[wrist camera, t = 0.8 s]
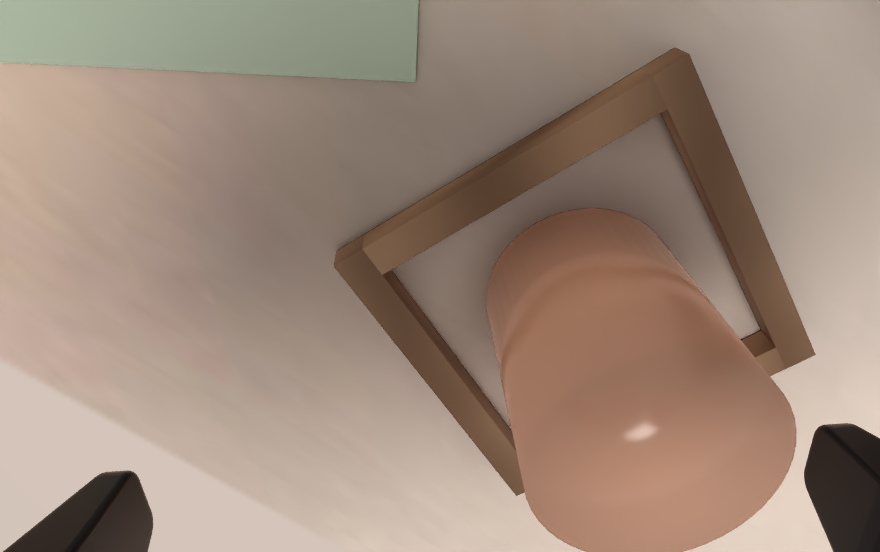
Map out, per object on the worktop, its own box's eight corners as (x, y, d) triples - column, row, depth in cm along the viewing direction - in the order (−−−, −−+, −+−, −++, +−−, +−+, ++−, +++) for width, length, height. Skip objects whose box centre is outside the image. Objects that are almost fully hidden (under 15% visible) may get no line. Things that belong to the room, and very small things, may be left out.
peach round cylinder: (516, 189, 20) (573, 328, 13) (704, 229, 20) (847, 378, 14) (455, 389, 23) (476, 581, 16) (619, 416, 24) (702, 608, 17)
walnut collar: (674, 47, 18) (689, 54, 17) (799, 337, 22) (815, 354, 22) (336, 250, 20) (333, 266, 19) (512, 475, 25) (516, 495, 24)
